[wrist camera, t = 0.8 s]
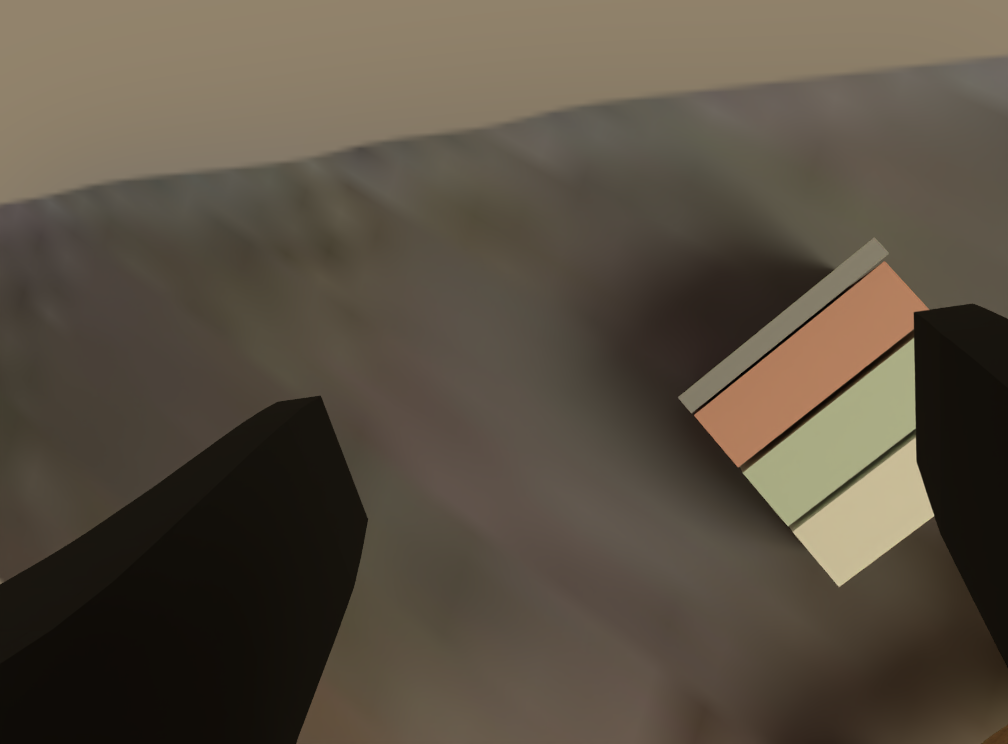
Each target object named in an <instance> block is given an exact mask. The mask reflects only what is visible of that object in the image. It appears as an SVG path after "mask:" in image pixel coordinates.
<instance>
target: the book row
mask: <svg viewBox="0 0 1008 744" xmlns="http://www.w3.org/2000/svg"><path fill="white" fill-rule="evenodd" d="M888 254H889V253H888V252H887V250H886V249H885V248H884V247H883V246H882V245H881V244H880V243H879V242H878V241H877V240H876V239H875V237H874V238H873V239H872V240H870V241H869V242H868V243H867V244H866V245H864V246H863V247H862V248H861V249H859V250H858V251H857V252H856V253H854V254H853V255H852V256H851V257H850V258H848V259H847V260H846V261H845V262H843V263H842V264H841V265H840V266H839V267H837V268H836V269H835V270H834V271H832V272H831V273H830V274H829V275H827V276H826V277H825V278H824V279H823V280H821V281H820V282H819V283H818V284H816V285H815V286H814V287H813V288H812V289H810V290H809V291H808V292H807V293H805V294H804V295H803V296H802V297H800V298H799V299H798V300H797V301H796V302H794V303H793V304H792V305H791V306H789V307H788V308H787V309H786V310H785V311H783V312H782V313H781V314H780V315H778V316H777V317H776V318H775V319H773V320H772V321H771V322H770V323H769V324H767V325H766V326H765V327H764V328H762V329H761V330H760V331H759V332H758V333H756V334H755V335H754V336H753V337H751V338H750V339H749V340H748V341H746V342H745V343H744V344H743V345H742V346H740V347H739V348H738V349H737V350H735V351H734V352H733V353H732V354H731V355H729V356H728V357H727V358H726V359H724V360H723V361H722V362H721V363H719V364H718V365H717V366H716V367H715V368H713V369H712V370H711V371H710V372H708V373H707V374H706V375H705V376H704V377H702V378H701V379H700V380H699V381H697V382H696V383H695V384H694V385H692V386H691V387H690V388H689V389H688V390H686V391H685V392H684V393H683V394H681V395H680V396H679V397H678V398H679V400H680V401H681V402H682V403H683V404H684V405H685V407H686V408H687V409H688V410H689V411H690V413H693V412H694V411H695V410H696V409H697V408H699V407H700V406H701V405H702V404H704V403H705V402H706V401H707V400H709V399H710V398H711V397H712V396H714V395H715V394H716V393H717V392H718V391H720V390H721V389H722V388H723V387H725V386H726V385H727V384H728V383H730V382H731V381H732V380H733V379H735V378H736V377H737V376H738V375H740V374H741V373H742V372H743V371H744V370H746V369H747V368H748V367H749V366H751V365H752V364H753V363H754V362H756V361H757V360H758V359H759V358H761V357H762V356H763V355H764V354H765V353H767V352H768V351H769V350H770V349H772V348H773V347H774V346H775V345H777V344H778V343H779V342H780V341H782V340H783V339H784V338H785V337H786V336H788V335H789V334H790V333H791V332H793V331H794V330H795V329H796V328H798V327H799V326H800V325H801V324H803V323H804V322H805V321H806V320H808V319H809V318H810V317H811V316H812V315H814V314H815V313H816V312H817V311H819V310H820V309H821V308H822V307H824V306H825V305H826V304H827V303H829V302H830V301H831V300H832V299H833V298H835V297H836V296H837V295H838V294H840V293H841V292H842V291H843V290H845V289H846V288H847V287H848V286H850V285H851V284H852V283H853V282H854V281H856V280H857V279H858V278H859V277H861V276H862V275H863V274H864V273H866V272H867V271H868V270H869V269H871V268H872V267H873V266H874V265H875V264H877V263H878V262H879V261H880V260H882V259H883V258H884V257H885V256H887V255H888ZM924 310H929V309H928V308H927V307H926V306H925V305H924V303H923V302H922V301H921V300H920V299H919V298H918V297H917V296H916V295H915V294H914V293H913V292H912V290H911V289H910V288H909V287H908V286H907V285H906V284H905V283H904V282H903V281H902V280H901V278H900V277H899V276H898V275H897V274H896V273H895V272H894V271H893V270H892V269H891V268H890V267H889V265H888V264H887V263H886V262H885V261H884V262H883V263H881V264H880V265H879V266H877V267H876V268H875V269H873V270H872V271H870V272H869V273H868V274H866V275H865V276H863V277H862V278H861V279H859V280H858V281H857V282H855V283H854V284H852V285H851V286H850V287H849V288H847V289H846V290H845V291H844V292H842V293H841V294H840V295H839V296H837V297H836V298H835V299H834V300H832V301H831V302H830V303H829V304H828V305H826V306H825V307H824V308H823V309H821V310H820V311H819V312H818V313H816V314H815V315H814V316H813V317H811V318H810V319H809V320H808V321H806V322H805V323H804V324H803V325H802V326H800V327H799V328H798V329H797V330H795V331H794V332H793V333H792V334H790V335H789V336H788V337H787V338H785V339H784V340H783V341H782V342H781V343H779V344H778V345H777V346H776V347H774V348H773V349H772V350H771V351H769V352H768V353H767V354H766V355H764V356H763V357H762V358H761V359H759V360H758V361H757V362H756V363H755V364H753V365H752V366H751V367H750V368H748V369H747V370H746V371H745V372H743V373H742V374H741V375H740V376H738V377H737V378H736V379H735V380H734V381H732V382H731V383H730V384H729V385H727V386H726V387H725V388H724V389H722V390H721V391H720V392H719V393H717V394H716V395H715V396H714V397H713V398H711V399H710V400H709V401H708V402H706V403H705V404H704V405H703V406H701V407H700V408H699V409H698V410H696V411H695V414H694V416H695V417H696V418H697V420H698V421H699V422H700V423H701V424H702V425H703V427H704V428H705V429H706V430H707V431H708V433H709V434H710V435H711V436H712V437H713V438H714V440H715V441H716V442H717V443H718V444H719V446H720V447H721V448H722V449H723V450H724V451H725V453H726V454H727V455H728V456H729V457H730V459H731V460H732V461H733V462H734V463H735V464H736V466H737V467H740V468H741V471H742V473H743V474H744V475H745V476H746V477H747V479H748V480H749V481H750V482H751V483H752V485H753V486H754V487H755V488H756V489H757V490H758V492H759V493H760V494H761V495H762V496H763V498H764V499H765V500H766V501H767V502H768V503H769V505H770V506H771V507H772V508H773V509H774V511H775V512H776V513H777V514H778V515H779V516H780V518H781V519H782V520H783V521H784V522H785V524H786V525H787V526H789V527H790V529H791V530H792V532H793V533H794V534H795V535H796V537H797V538H798V539H799V540H800V541H801V542H802V544H803V545H804V546H805V547H806V548H807V550H808V551H809V552H810V553H811V554H812V555H813V557H814V558H815V559H816V560H817V561H818V563H819V564H820V565H821V566H822V567H823V568H824V570H825V571H826V572H827V573H828V574H829V576H830V577H831V578H832V579H833V580H834V581H835V583H836V584H837V585H838V586H839V587H840V586H841V585H842V584H844V583H845V582H846V581H848V580H849V579H850V578H852V577H853V576H854V575H856V574H857V573H859V572H860V571H861V570H863V569H864V568H865V567H867V566H868V565H869V564H871V563H872V562H873V561H875V560H876V559H877V558H879V557H880V556H881V555H883V554H884V553H885V552H887V551H888V550H889V549H891V548H892V547H893V546H895V545H896V544H897V543H899V542H900V541H901V540H903V539H904V538H905V537H907V536H908V535H909V534H911V533H912V532H913V531H915V530H916V529H917V528H919V527H920V526H921V525H923V524H924V523H925V522H927V521H928V520H929V519H931V518H932V517H933V516H934V513H933V510H932V508H931V505H930V502H929V499H928V496H927V493H926V489H925V486H924V483H923V480H922V477H921V474H920V471H919V468H918V465H917V462H916V416H915V362H914V312H917V311H924Z"/></svg>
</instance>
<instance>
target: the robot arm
mask: <svg viewBox="0 0 1008 744" xmlns="http://www.w3.org/2000/svg"><path fill="white" fill-rule="evenodd" d="M914 362H915V416H916V462H917V465H918V468H919V471H920V474H921V477H922V480H923V483H924V486H925V489H926V493H927V496H928V499H929V502H930V505H931V508H932V510H933V513H934V516H935V519H936V522H937V525H938V528H939V531H940V533H941V536H942V538H943V540H944V542H945V544H946V546H947V548H948V550H949V552H950V554H951V556H952V558H953V560H954V562H955V564H956V566H957V568H958V570H959V572H960V574H961V576H962V578H963V580H964V582H965V584H966V586H967V588H968V590H969V592H970V594H971V596H972V598H973V600H974V602H975V604H976V606H977V608H978V610H979V612H980V614H981V616H982V618H983V620H984V622H985V624H986V626H987V628H988V630H989V632H990V634H991V636H992V638H993V640H994V642H995V644H996V645H997V647H998V649H999V651H1000V653H1001V655H1002V657H1003V659H1004V661H1005V663H1006V665H1007V667H1008V319H1007V318H1005V317H1002V316H1000V315H998V314H996V313H994V312H992V311H990V310H987V309H985V308H983V307H980V306H978V305H975V304H967V305H960V306H953V307H946V308H938V309H931V310H924V311H917V312H914ZM367 522H368V518H367V516H366V513H365V510H364V508H363V505H362V502H361V500H360V497H359V495H358V492H357V489H356V487H355V484H354V482H353V479H352V476H351V474H350V471H349V468H348V466H347V463H346V461H345V458H344V455H343V453H342V450H341V448H340V445H339V442H338V440H337V437H336V434H335V432H334V429H333V427H332V424H331V421H330V419H329V416H328V414H327V411H326V408H325V406H324V403H323V400H322V398H321V396H315V397H308V398H301V399H294V400H287V401H280V402H277V403H275V404H273V405H271V406H269V407H267V408H266V409H264V410H262V411H260V412H259V413H257V414H256V415H254V416H253V417H251V418H249V419H248V420H246V421H245V422H243V423H242V424H241V425H239V426H238V427H236V428H235V429H233V430H232V431H230V432H229V433H228V434H226V435H225V436H223V437H222V438H221V439H219V440H218V441H216V442H215V443H214V444H212V445H211V446H210V447H208V448H207V449H205V450H204V451H203V452H201V453H200V454H198V455H197V456H196V457H194V458H193V459H192V460H190V461H189V462H187V463H186V464H185V465H183V466H182V467H181V468H179V469H178V470H176V471H175V472H174V473H172V474H171V475H170V476H168V477H167V478H165V479H164V480H163V481H161V482H160V483H159V484H157V485H156V486H154V487H153V488H152V489H150V490H149V491H147V492H146V493H144V494H143V495H141V496H140V497H138V498H137V499H135V500H134V501H132V502H131V503H130V504H128V505H127V506H125V507H124V508H122V509H121V510H119V511H118V512H116V513H115V514H113V515H112V516H110V517H109V518H108V519H106V520H105V521H103V522H102V523H100V524H99V525H97V526H96V527H94V528H93V529H91V530H90V531H89V532H87V533H86V534H84V535H82V536H81V537H79V538H78V539H76V540H75V541H73V542H71V543H70V544H68V545H67V546H65V547H63V548H62V549H60V550H59V551H57V552H55V553H54V554H52V555H50V556H49V557H47V558H45V559H44V560H42V561H40V562H39V563H37V564H35V565H33V566H32V567H30V568H28V569H26V570H25V571H23V572H21V573H19V574H18V575H16V576H14V577H13V578H11V579H9V580H7V581H6V582H4V583H2V584H0V744H296V742H297V739H298V736H299V734H300V731H301V728H302V726H303V723H304V720H305V718H306V715H307V712H308V710H309V707H310V705H311V702H312V699H313V697H314V694H315V691H316V689H317V686H318V683H319V681H320V678H321V675H322V673H323V670H324V667H325V665H326V662H327V660H328V657H329V654H330V652H331V649H332V646H333V644H334V641H335V638H336V636H337V633H338V630H339V627H340V625H341V622H342V619H343V616H344V614H345V611H346V608H347V605H348V603H349V600H350V597H351V594H352V591H353V588H354V585H355V581H356V576H357V572H358V568H359V563H360V559H361V554H362V549H363V544H364V538H365V533H366V528H367Z"/></svg>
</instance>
